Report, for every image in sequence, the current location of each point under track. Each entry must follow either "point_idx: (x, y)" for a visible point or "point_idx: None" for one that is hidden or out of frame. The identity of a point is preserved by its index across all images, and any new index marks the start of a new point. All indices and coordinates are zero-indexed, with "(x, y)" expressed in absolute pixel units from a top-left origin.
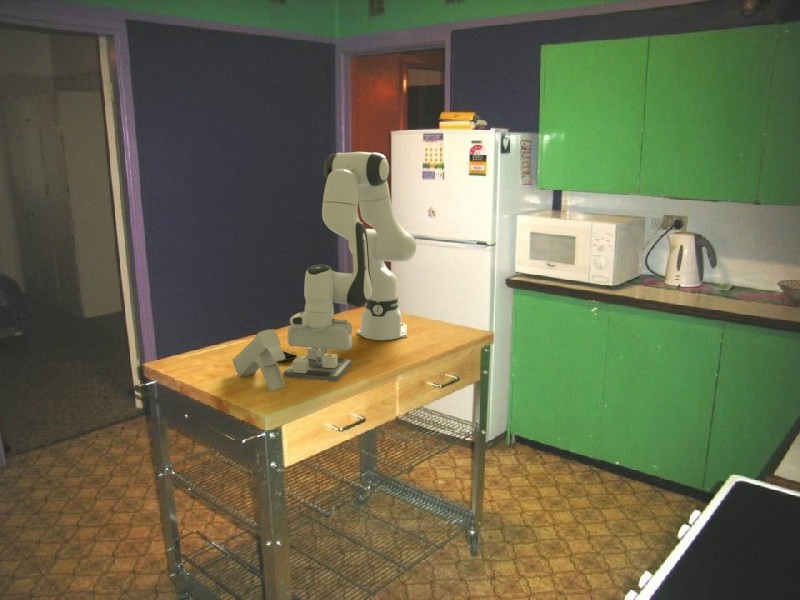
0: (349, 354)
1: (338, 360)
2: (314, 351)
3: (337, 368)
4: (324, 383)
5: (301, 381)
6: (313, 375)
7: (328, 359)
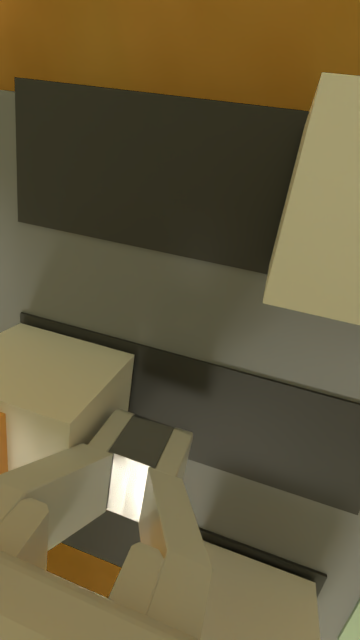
0: None
1: None
2: (170, 544)
3: None
4: (72, 12)
5: (347, 29)
6: (194, 115)
7: (14, 379)
